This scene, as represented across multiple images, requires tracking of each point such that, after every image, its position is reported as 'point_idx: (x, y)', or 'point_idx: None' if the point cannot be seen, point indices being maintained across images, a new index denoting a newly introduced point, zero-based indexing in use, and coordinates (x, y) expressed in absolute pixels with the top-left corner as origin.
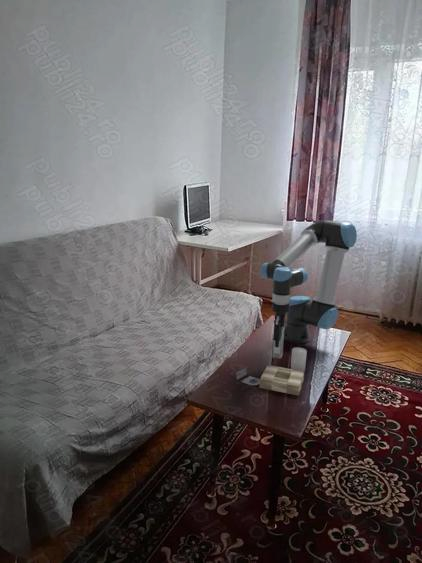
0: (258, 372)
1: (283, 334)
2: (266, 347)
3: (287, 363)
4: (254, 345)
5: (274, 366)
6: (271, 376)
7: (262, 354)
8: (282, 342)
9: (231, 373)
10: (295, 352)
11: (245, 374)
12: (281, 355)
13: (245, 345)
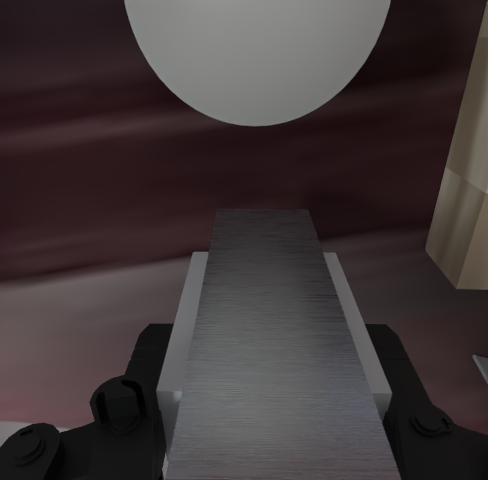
0: (427, 300)
1: (230, 435)
2: (3, 325)
3: (190, 133)
4: (28, 389)
5: (484, 232)
6: None
7: (132, 327)
8: (283, 318)
9: (473, 417)
10: (371, 47)
11: (485, 360)
12: (282, 219)
13: (65, 426)
